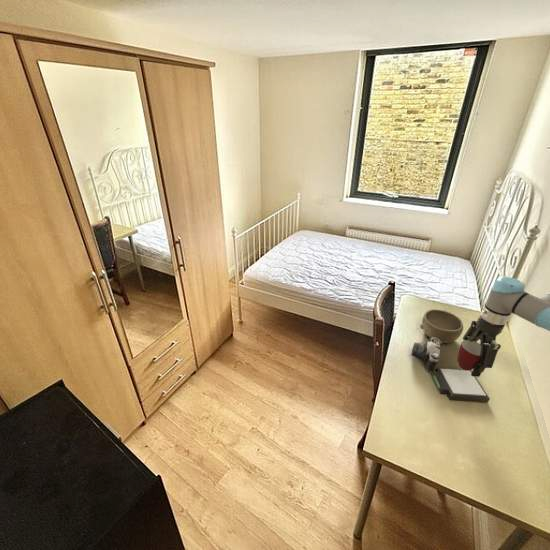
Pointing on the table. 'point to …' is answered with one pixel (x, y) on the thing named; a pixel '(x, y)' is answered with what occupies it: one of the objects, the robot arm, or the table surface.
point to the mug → (468, 355)
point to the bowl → (442, 325)
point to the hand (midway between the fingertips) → (469, 366)
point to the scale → (459, 385)
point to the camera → (428, 353)
